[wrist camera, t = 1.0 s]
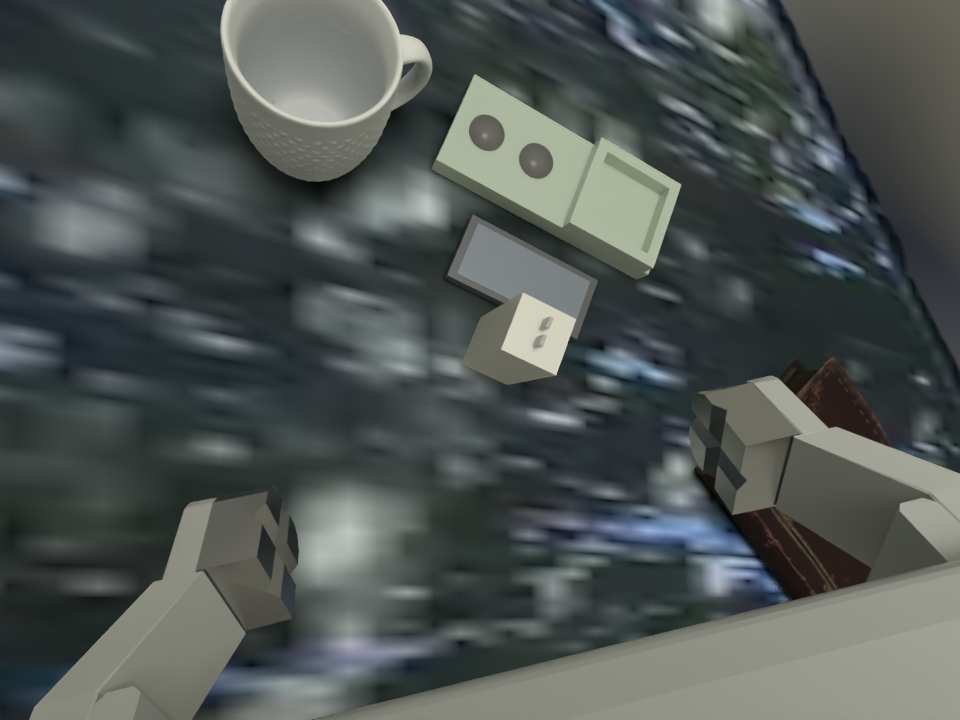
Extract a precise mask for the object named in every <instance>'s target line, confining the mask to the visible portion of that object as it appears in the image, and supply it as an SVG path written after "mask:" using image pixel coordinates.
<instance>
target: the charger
mask: <svg viewBox="0 0 960 720" xmlns="http://www.w3.org/2000/svg"><path fill="white" fill-rule="evenodd" d="M575 321H576V319H575V318H573V317H571V316H569V315H567V314H565V313H563V312H561V311H559V310H557V309H555V308H553V307H551V306H549V305H547V304H545V303H543V302H541V301H539V300H537V299H535V298H533V297H531V296H529V295H527V294H525V293H521V294H520V295H518V296H516V297H515V298H513V299H511V300H509V301H508V302H506V303H504V304H503V305H501V306H499V307H497V308H496V309H494V310H492V311H491V312H489V313H487V314H485V315H484V316H482V317H480V319H479V322H478V324H477V327H476V329H475V332H474V334H473V337H472V339H471V342H470V344H469V347H468V349H467V352H466V354H465V357H464V359H463V362H462V365H464V366H466V367H469V368H471V369H473V370H475V371H477V372H480V373H482V374H484V375H486V376H488V377H491V378H493V379H495V380H497V381H499V382H502V383H504V384H506V385H510V384H515V383H520V382H525V381H530V380H535V379H540V378H545V377H550V376H555V375H556V374H557V371H558V369H559V366H560V363H561V360H562V357H563V355H564V352H565V349H566V346H567V344H568V341H569V338H570V335H571V333H572V330H573V327H574V324H575Z"/></svg>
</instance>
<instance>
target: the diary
mask: <svg viewBox="0 0 960 720" xmlns="http://www.w3.org/2000/svg"><path fill="white" fill-rule="evenodd" d="M779 380H780V381H781V382H782V383H783V384H784V385H785V386H786V387H787V388H788V389H789V390H790V391H791V392H792V393H794V394H795V395H796V396H797V397H798V398H799V399H800V400H801V401H802V402H803V403H804V404H805V405H806V406H807V407H808V408H809V409H810V410H811V411H812V412H813V413H814V414H815V415H816V416H817V417H818V418H819V419H820V420H821V421H822V422H823V423H824V424H825V425H826V426H827V427H828V428H833V427H838V428H841V429H843V430H846V431H849V432H851V433H854V434H857V435H859V436H862V437H864V438H867V439H870V440H872V441H875V442H878V443H880V444H883V445H885V446H888V447H891V448H893V446H892V444H891V443H890V441H889V439H888V437H887V436H886V434H885V432H884V431H883V429H882V427H881V426H880V424H879V422H878V421H877V419H876V417H875V415H874V414H873V412H872V410H871V409H870V407H869V406H868V404H867V403H866V402H865V400H864V399H863V397H862V396H861V394H860V393H859V391H858V390H857V389H856V387H855V386H854V384H853V383H852V381H851V380H850V378H849V377H848V376H847V374H846V373H845V371H844V370H843V368H842V367H841V366H840V364H839V363H838V361H837V360H836V358H835V357H834V356H833V355H831V356H830V357H829V359H828V360H827V361H826V362H825V363H824V364H823V365H822V366H821V367H820V368H819V369H818V370H812V371H805V370H804V368H803V366H802V365H801V364H800V362H799V361H798V360H797V359H796V360H795V361H794V362H793V364H792V365H791V366H790V367H789V368H788V369H787V370H786V371H785V372H784V373H783V374H782V375H781V376H780V378H779ZM893 449H894V448H893ZM695 470H696V471H697V473H698V474H699V475H700V477H701V478H702V479H703V480H704V482H705V483H706V484H707V486H708V487H709V488H710V490H711V491H712V492H713V494H714V495H715V496H716V497H717V499H718V500H719V501H720V503H721V504H722V505H723V507H724V508H725V509H726V510H727V512H728V513H729V514H730V516H731V517H732V518H733V520H734V521H735V522H736V524H737V525H738V527H739V528H740V529H741V531H742V532H743V534H744V535H745V536H746V538H747V539H748V541H749V542H750V544H751V545H752V546H753V548H754V549H755V551H756V552H757V553H758V555H759V556H760V558H761V559H762V560H763V562H764V563H765V565H766V566H767V568H768V569H769V570H770V572H771V573H772V574H773V575H774V577H775V578H776V579H777V581H778V582H779V583H780V584H781V586H782V587H783V588H784V590H785V591H786V592H787V594H788V595H789V596H790V597H791V599H792V600H797V599H801V598H805V597H809V596H813V595H817V594H821V593H825V592H829V591H833V590H837V589H841V588H845V587H850V586H854V585H858V584H862V583H866V580H867V578H868V576H869V573H870V571H871V569H872V568H871V567H869V566H867V565H866V564H864V563H863V562H861V561H859V560H858V559H856V558H855V557H853V556H851V555H850V554H848V553H847V552H845V551H843V550H842V549H840V548H838V547H837V546H835V545H834V544H832V543H830V542H829V541H827V540H826V539H824V538H822V537H821V536H819V535H818V534H816V533H814V532H813V531H811V530H810V529H808V528H806V527H805V526H803V525H802V524H800V523H798V522H797V521H795V520H794V519H792V518H790V517H789V516H787V515H785V514H784V513H782V512H781V511H779V510H777V509H776V506H774V507H769V508H764V509H759V510H754V511H749V512H744V513H740V514H735V515H732V514H731V512H730V511H729V509H728V508H727V506H726V505H725V503H724V502H723V500H722V499H721V498H720V496H719V495H718V493H717V492H716V490H715V489H714V488H715V481H716V478H715V477H713V476H711V475H709V474H707V473H705V472H703V471H702V470H701V469H699V468H698V467H695Z"/></svg>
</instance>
